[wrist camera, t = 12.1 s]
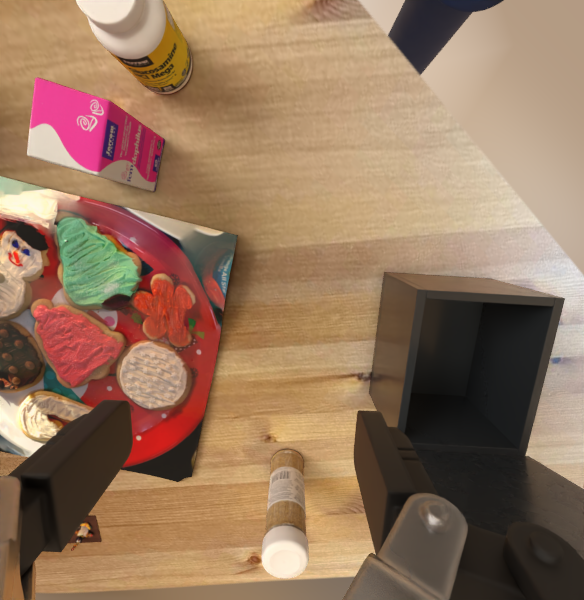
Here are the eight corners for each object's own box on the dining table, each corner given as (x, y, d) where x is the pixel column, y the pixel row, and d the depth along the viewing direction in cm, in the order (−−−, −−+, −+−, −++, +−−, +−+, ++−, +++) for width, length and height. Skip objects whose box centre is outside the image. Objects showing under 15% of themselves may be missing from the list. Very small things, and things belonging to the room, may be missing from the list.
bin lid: (518, 604, 14) (514, 732, 14) (803, 620, 14) (804, 747, 14) (395, 448, 31) (393, 505, 30) (528, 456, 31) (527, 513, 30)
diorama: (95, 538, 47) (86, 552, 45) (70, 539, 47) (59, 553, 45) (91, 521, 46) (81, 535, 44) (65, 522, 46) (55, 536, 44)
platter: (-68, 158, 36) (-88, 154, 34) (242, 235, 37) (239, 236, 35) (-69, 429, 43) (-85, 438, 41) (190, 484, 45) (185, 495, 43)
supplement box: (158, 193, 36) (97, 178, 25) (105, 177, 36) (20, 155, 25) (168, 139, 35) (109, 98, 24) (114, 122, 35) (28, 73, 24)
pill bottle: (154, 107, 34) (90, 52, 24) (122, 47, 33) (40, -40, 22) (205, 78, 34) (163, 9, 23) (175, 16, 33) (116, -88, 22)
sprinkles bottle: (272, 477, 44) (262, 582, 31) (269, 448, 43) (258, 544, 30) (305, 475, 44) (310, 580, 31) (303, 446, 43) (307, 542, 30)
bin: (383, 271, 38) (417, 289, 28) (490, 278, 38) (565, 298, 28) (368, 392, 42) (394, 449, 31) (466, 398, 42) (525, 457, 31)
